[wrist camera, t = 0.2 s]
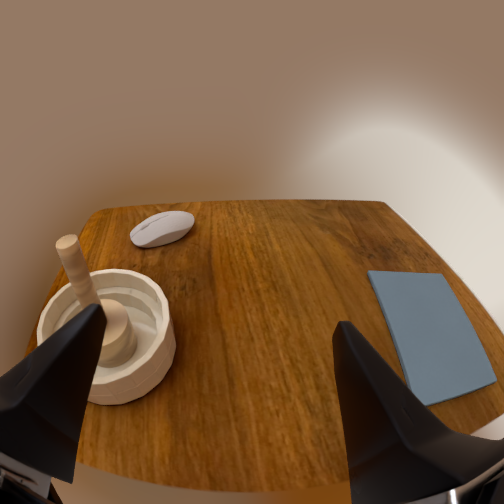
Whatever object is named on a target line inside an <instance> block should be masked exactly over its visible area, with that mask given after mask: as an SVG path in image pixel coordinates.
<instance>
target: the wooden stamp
mask: <svg viewBox="0 0 504 504" xmlns="http://www.w3.org/2000/svg"><path fill="white" fill-rule="evenodd" d="M56 248H57V251H58V254H59V256H60V259H61V261H62V264H63V267H64V269H65V271H66V274H67V276H68V279H69V281H70V283H71V285H72V288H73V290H74V292H75V294H76V296H77V299H78V301H79V303H80V305H81V307H82V309H81V310H80V311H82V310H83V309H84V308H85V307H87V306H88V305H89V304H91V303H96V304H100V305H101V306H102V308H103V310H104V313H105V315H106V318H107V326H106V330H105V335H104V339H103V344H102V349H101V354H100V358H99V361H98V366H100V367H104V368H113V367H117V366H120V365H122V364H124V363H126V362H127V361H128V360H129V359H130V358H131V357H132V356H133V354H134V353H135V350H136V347H137V336H136V333H135V331H134V329H133V326H132V323H131V321H130V318H129V316H128V313H127V311H126V309H125V307H124V306H123V305H122V304H121V303H119V302H117V301H115V300H111V299H100V298H99V296H98V294H97V291H96V289H95V286H94V284H93V281H92V278H91V276H90V273H89V270H88V268H87V265H86V262H85V259H84V256H83V253H82V250H81V247H80V244H79V241H78V238H77V236H76V235H74V234H70V235H66V236H64V237H62V238H60V239H59V240H58V241H57V243H56ZM80 311H79V312H80ZM79 312H78V313H79ZM78 313H77V314H78Z"/></svg>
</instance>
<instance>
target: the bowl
mask: <svg viewBox="0 0 504 504" xmlns="http://www.w3.org/2000/svg"><path fill="white" fill-rule="evenodd" d="M90 276H91V278H92V281H93V284H94V286H95V289H96V291H97V294H98V296H99V298H100V299H111V300H115V301H117V302H119V303H121V304H122V305H123V306H124V307H125V309H126V311H127V313H128V316H129V318H130V321H131V323H132V326H133V329H134V331H135V333H136V336H137V347H136V350H135V353H134V354H133V356H132V357H131V358H130V359H129V360H128V361H127V362H126V363H124V364H122V365H120V366H117V367H113V368H104V367H100V366H98V365H97V368H96V372H95V375H94V379H93V382H92V386H91V390H90V393H89V397H88V401H90V402H93V403H96V404H100V405H113V404H124V403H126V402H129V401H132V400H134V399H137V398H140V397H142V396H144V395H145V394H146V393H148V392H149V391H150V390H151V389H153V388H154V387H155V386H156V385H157V384H159V383H160V382H161V381H162V379H163V377H164V376H165V374H166V373H167V371H168V370H169V368H170V366H171V365H172V362H173V357H174V353H175V349H176V339H175V332H174V326H173V322H172V318H171V313H170V309H169V304H168V301H167V299H166V297H165V295H164V294H163V292H162V290H161V288H160V287H159V286H158V285H157V284H156V283H155V282H153V281H152V280H151V279H150V278H148V277H147V276H144V275H142V274H139V273H137V272H134V271H131V270H122V269H108V270H100V271H95V272H92V273H90ZM81 309H82V307H81V305H80V303H79V301H78V299H77V296H76V294H75V292H74V290H73V288H72V285H71V283H68V284H67V285H65V286H64V287H62V288H61V289H60V290H59V291H58V292H57V293H56V294H55V295H54V296H53V297H52V298H51V299H50V301H49V302H48V304H47V306H46V307H45V309H44V310H43V312H42V314H41V317H40V321H39V325H38V328H37V340H38V346H39V345H40V344H41V343H43V342H44V341H45V340H46V339H47V338H48V337H50V336H51V335H52V334H53V333H54V332H56V331H57V330H58V329H59V328H60V327H62V326H63V325H64V324H65V323H67V322H68V321H69V320H70V319H72V318H73V317H74V316H75V315H77V313H78V312H79V311H80V310H81Z"/></svg>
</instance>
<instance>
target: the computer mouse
mask: <svg viewBox="0 0 504 504" xmlns="http://www.w3.org/2000/svg"><path fill="white" fill-rule="evenodd" d="M193 224H194V217H193V215H192V214H190V213H187V212H182V211H169V212H163V213H160V214H156V215H154V216H151V217H149V218H148V219H146V220H144V221H143V222H141V223H140V224H139V225H138V226H136V227H135V228H134V229H133V230H132V231H131V233H130V237H131V240H132V242H133V243H134V244H135V245H136V246H139V247H145V248H149V247H156V246H160V245H164V244H167V243H171V242H173V241H176V240H178V239H180V238H181V237H183V236H184V235H185V234H186V233H187V232H188V231H189V230H190V229H191V228H192V226H193Z"/></svg>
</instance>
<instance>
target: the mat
mask: <svg viewBox="0 0 504 504" xmlns="http://www.w3.org/2000/svg"><path fill="white" fill-rule="evenodd" d="M367 275H368V277H369V279H370V282H371V284H372V286H373V289H374V291H375V294H376V296H377V299H378V301H379V304H380V306H381V309H382V312H383V314H384V317H385V320H386V322H387V325H388V328H389V330H390V333H391V336H392V339H393V342H394V345H395V348H396V351H397V354H398V357H399V360H400V363H401V366H402V369H403V373H404V376H405V379H406V383H407V386H408V388H409V389H410V390H411V391H412V392H413V393H414V395H415V396H416V397H417V398H418V399H419V400H420V401H421V402H422V403H423V404H424V405H425V406H430V405H433V404H437V403H440V402H444V401H447V400H450V399H453V398H456V397H459V396H462V395H465V394H468V393H470V392H473V391H476V390H478V389H481V388H483V387H486V386H488V385H491V384H493V383H495V382H496V381H497V379H496V376H495V374H494V371H493V369H492V366H491V364H490V362H489V359H488V357H487V355H486V353H485V351H484V349H483V346H482V344H481V342H480V340H479V338H478V336H477V334H476V332H475V330H474V328H473V326H472V324H471V323H470V321H469V319H468V317H467V315H466V313H465V312H464V310H463V308H462V306H461V305H460V303H459V301H458V299H457V298H456V296H455V294H454V293H453V291H452V289H451V288H450V286H449V285H448V283H447V281H446V280H445V278H444V277H443V275H442V274H431V273H409V272H388V271H368V273H367Z"/></svg>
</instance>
